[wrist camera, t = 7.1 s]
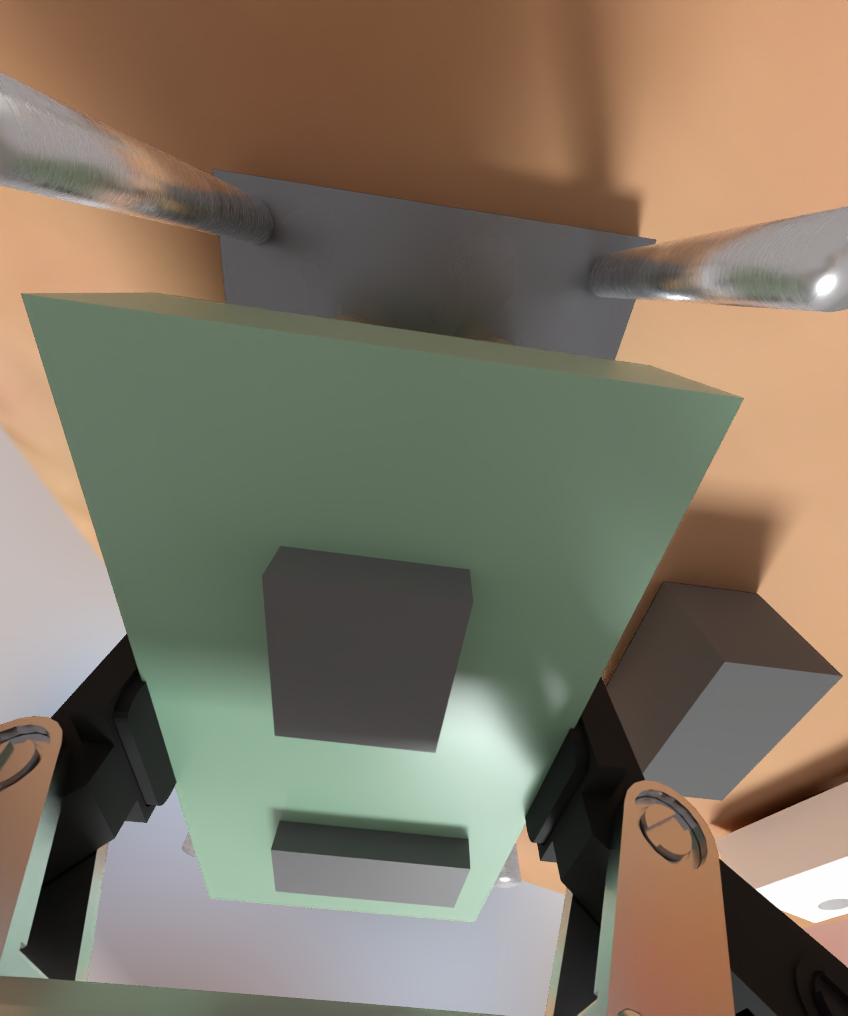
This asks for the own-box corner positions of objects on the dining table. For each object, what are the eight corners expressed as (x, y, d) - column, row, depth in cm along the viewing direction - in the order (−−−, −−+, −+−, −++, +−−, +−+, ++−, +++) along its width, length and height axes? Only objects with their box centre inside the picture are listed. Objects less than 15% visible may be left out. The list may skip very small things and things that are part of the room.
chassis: (231, 179, 10) (-189, -39, 3) (638, 243, 11) (1001, 165, 4) (270, 651, 19) (173, 860, 12) (495, 678, 20) (526, 895, 13)
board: (154, 292, 5) (-48, 293, 3) (649, 365, 6) (790, 414, 3) (242, 810, 12) (197, 930, 10) (469, 832, 12) (476, 955, 10)
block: (663, 581, 16) (724, 661, 13) (757, 593, 17) (842, 676, 13) (597, 703, 20) (630, 790, 17) (673, 712, 20) (722, 800, 17)
